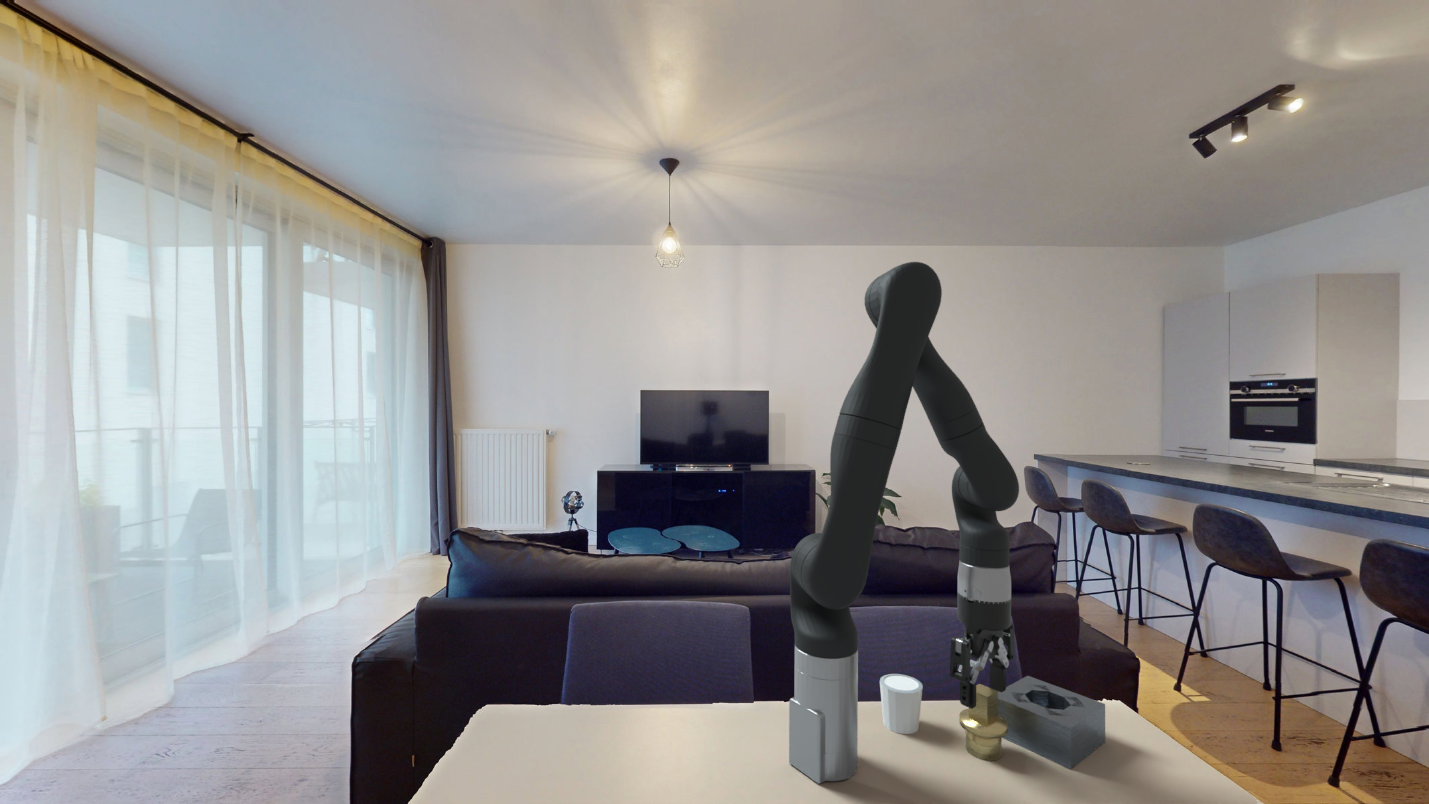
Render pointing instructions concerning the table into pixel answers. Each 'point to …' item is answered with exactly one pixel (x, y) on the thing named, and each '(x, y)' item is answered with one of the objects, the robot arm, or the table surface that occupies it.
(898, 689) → the shot glass
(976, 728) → the end cover
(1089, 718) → the housing
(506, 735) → the table surface
